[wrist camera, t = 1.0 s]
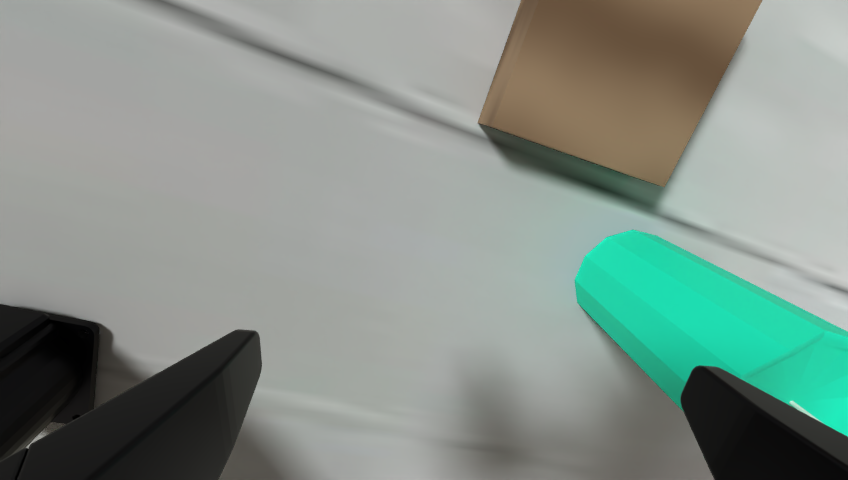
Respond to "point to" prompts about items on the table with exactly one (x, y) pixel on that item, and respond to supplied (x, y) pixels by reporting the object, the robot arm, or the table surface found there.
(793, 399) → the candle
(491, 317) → the table surface
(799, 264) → the table surface
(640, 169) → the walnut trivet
